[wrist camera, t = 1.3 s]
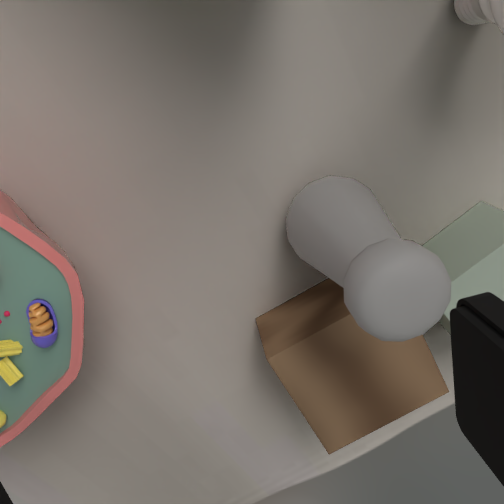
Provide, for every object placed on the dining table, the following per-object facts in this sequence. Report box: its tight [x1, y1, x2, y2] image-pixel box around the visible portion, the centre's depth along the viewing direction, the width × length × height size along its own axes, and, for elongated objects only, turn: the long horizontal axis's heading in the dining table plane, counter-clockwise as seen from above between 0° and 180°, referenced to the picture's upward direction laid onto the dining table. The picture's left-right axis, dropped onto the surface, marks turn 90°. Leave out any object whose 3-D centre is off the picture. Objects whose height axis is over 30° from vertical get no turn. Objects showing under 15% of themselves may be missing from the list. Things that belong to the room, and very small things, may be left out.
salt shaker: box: [286, 175, 451, 342], centre depth 24 cm, size 6×6×13 cm
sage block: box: [422, 201, 504, 335], centre depth 31 cm, size 7×7×5 cm
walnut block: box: [256, 278, 449, 454], centre depth 32 cm, size 9×9×5 cm
